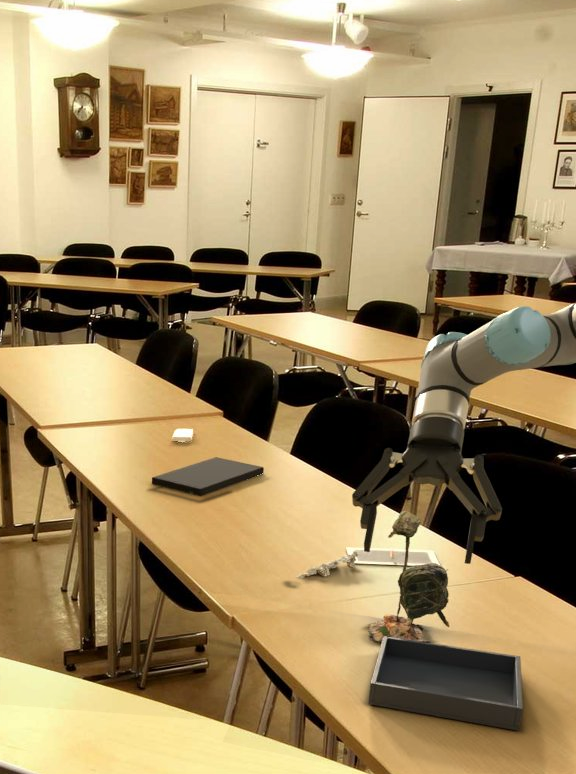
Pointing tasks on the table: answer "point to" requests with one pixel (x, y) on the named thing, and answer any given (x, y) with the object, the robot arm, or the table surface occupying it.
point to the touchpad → (393, 556)
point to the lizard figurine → (331, 565)
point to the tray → (448, 682)
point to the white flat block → (182, 435)
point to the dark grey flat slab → (207, 476)
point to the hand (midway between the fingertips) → (416, 553)
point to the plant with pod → (413, 591)
